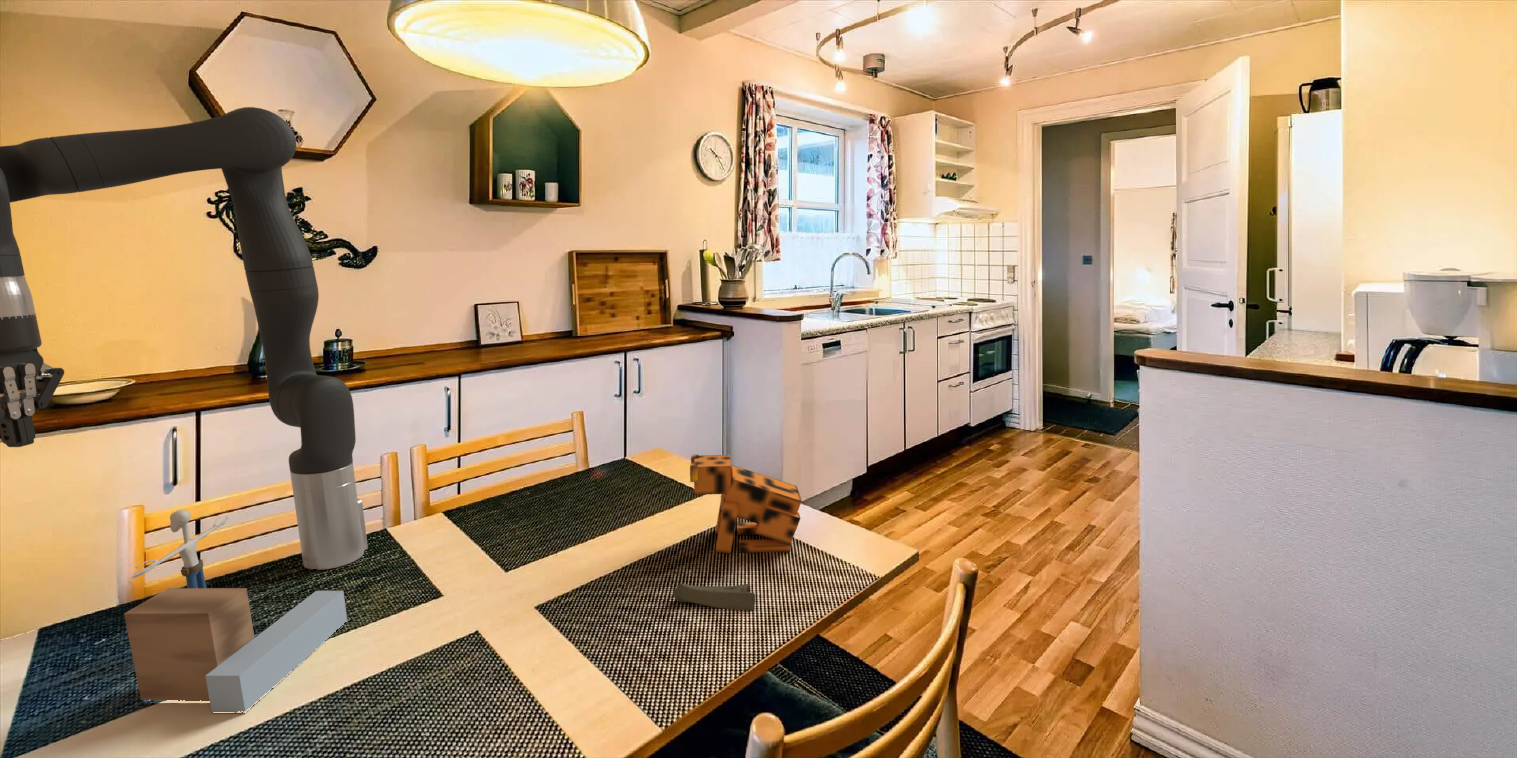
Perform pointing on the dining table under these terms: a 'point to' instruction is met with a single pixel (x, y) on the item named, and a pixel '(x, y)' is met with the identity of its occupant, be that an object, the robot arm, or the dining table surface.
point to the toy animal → (747, 504)
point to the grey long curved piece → (717, 596)
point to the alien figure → (185, 550)
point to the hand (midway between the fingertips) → (20, 445)
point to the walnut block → (186, 639)
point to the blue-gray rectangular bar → (275, 652)
